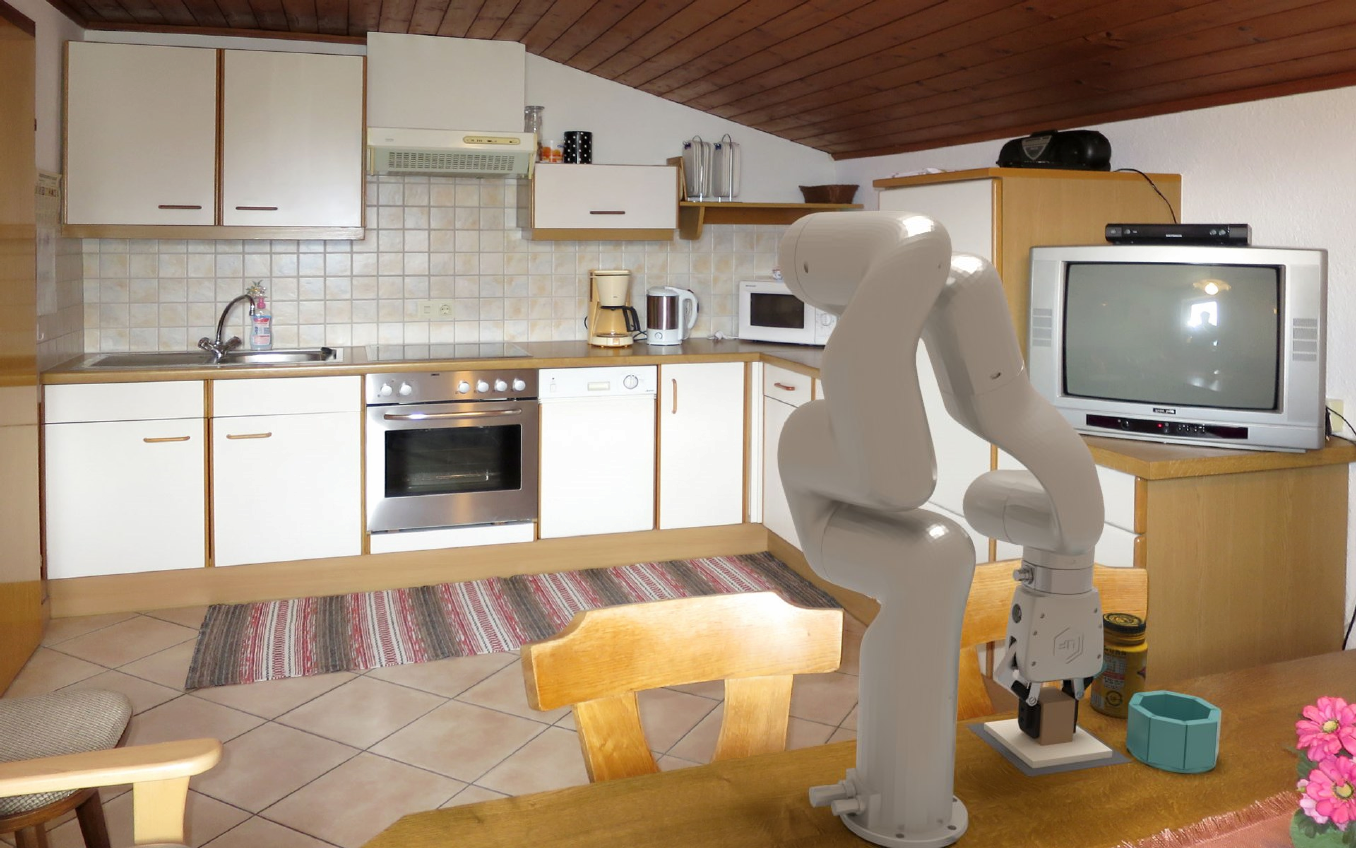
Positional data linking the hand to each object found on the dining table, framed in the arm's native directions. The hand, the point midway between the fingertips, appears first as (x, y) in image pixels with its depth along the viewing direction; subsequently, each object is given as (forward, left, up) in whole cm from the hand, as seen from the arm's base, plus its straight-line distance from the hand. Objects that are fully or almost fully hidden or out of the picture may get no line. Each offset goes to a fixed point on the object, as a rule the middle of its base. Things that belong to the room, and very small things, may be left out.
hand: (1047, 729), depth 126 cm
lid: (0, 0, -2) cm, 2 cm away
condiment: (+13, +6, -2) cm, 15 cm away
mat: (0, 0, -2) cm, 2 cm away
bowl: (+12, -6, -2) cm, 14 cm away
